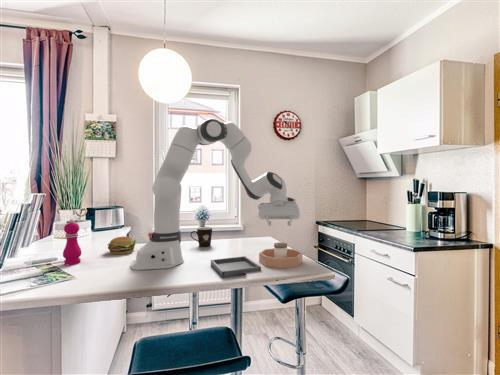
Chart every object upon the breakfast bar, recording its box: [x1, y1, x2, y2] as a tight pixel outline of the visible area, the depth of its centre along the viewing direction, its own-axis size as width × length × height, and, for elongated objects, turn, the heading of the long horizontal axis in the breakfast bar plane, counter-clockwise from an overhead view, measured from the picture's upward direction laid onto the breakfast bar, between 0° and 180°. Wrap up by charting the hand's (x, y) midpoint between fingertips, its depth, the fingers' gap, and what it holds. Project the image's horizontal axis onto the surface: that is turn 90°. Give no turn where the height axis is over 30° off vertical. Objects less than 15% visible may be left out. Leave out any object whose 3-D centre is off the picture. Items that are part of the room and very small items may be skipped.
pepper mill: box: [62, 218, 82, 266], centre depth 133 cm, size 7×7×20 cm
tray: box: [210, 255, 262, 279], centre depth 122 cm, size 16×18×2 cm
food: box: [107, 236, 137, 255], centre depth 153 cm, size 14×14×8 cm
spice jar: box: [273, 242, 288, 258], centre depth 129 cm, size 6×6×8 cm
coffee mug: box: [189, 226, 213, 248], centre depth 167 cm, size 12×9×10 cm
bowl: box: [258, 248, 303, 269], centre depth 129 cm, size 18×18×5 cm
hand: (279, 225), depth 141 cm, fingers open, 8 cm apart
